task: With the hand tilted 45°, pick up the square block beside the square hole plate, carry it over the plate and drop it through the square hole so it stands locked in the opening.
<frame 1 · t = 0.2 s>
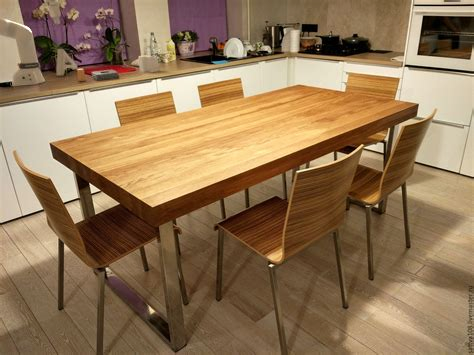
hand: (57, 23, 282), 39 cm above the table, tool pointing down, fingers open, 8 cm apart
corner bracket: (149, 71, 320), on the table
square hole plate: (105, 77, 299), on the table
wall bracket: (67, 72, 324), on the table
square block: (82, 80, 291), on the table
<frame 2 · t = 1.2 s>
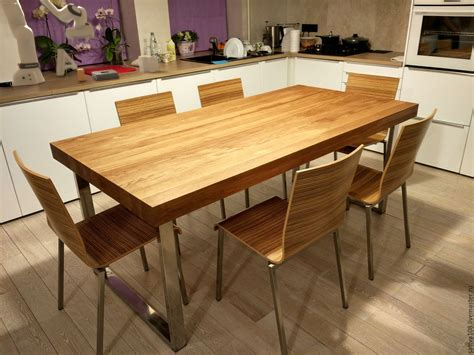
hand: (79, 42, 291), 26 cm above the table, tool tilted 45°, fingers open, 8 cm apart
nothing on the table moved.
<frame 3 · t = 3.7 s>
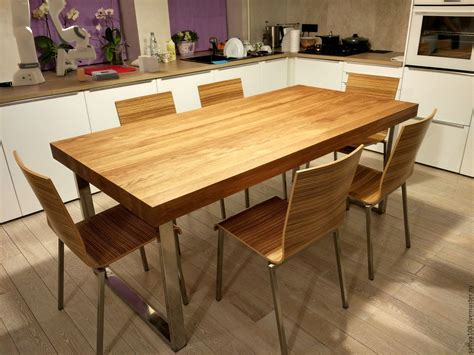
hand: (81, 64, 293), 10 cm above the table, tool tilted 45°, fingers open, 8 cm apart
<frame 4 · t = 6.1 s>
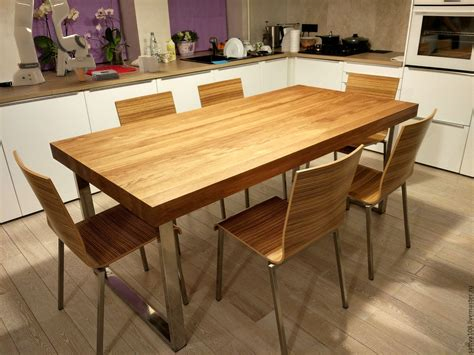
hand: (80, 74, 288), 5 cm above the table, tool tilted 45°, fingers closed on square block, 4 cm apart
square block: (82, 80, 291), on the table, touching gripper
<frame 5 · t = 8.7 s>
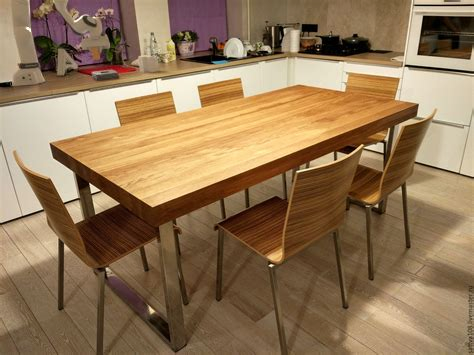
hand: (95, 53, 288), 18 cm above the table, tool tilted 45°, fingers closed on square block, 4 cm apart
square block: (97, 59, 291), point 14 cm above the table, touching gripper
when the fingers open (10 cm above the table, at t = 11.4 s): square block drops 5 cm, resting in square hole plate.
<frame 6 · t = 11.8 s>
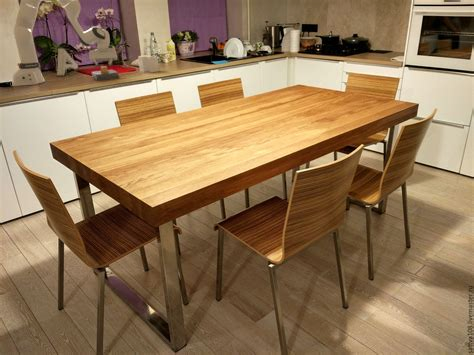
hand: (103, 64, 294), 10 cm above the table, tool tilted 45°, fingers open, 8 cm apart
square block: (105, 77, 299), resting in square hole plate
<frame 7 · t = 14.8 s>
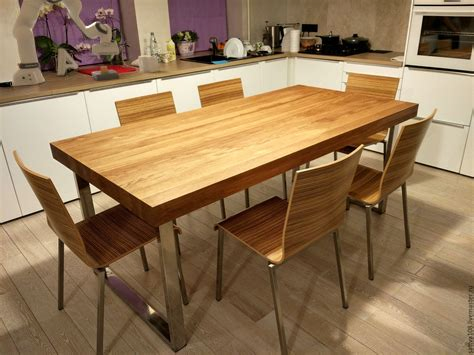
hand: (105, 58, 305), 12 cm above the table, tool tilted 45°, fingers open, 8 cm apart
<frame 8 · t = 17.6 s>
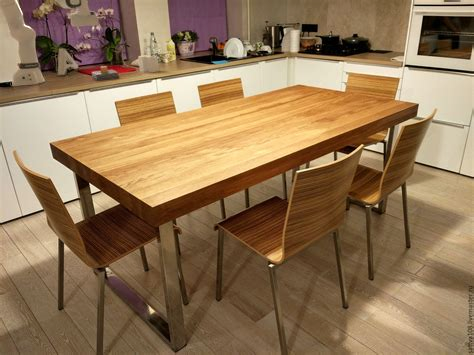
hand: (86, 32, 305), 31 cm above the table, tool pointing down, fingers open, 8 cm apart
at the end: square block 0.0 cm off-centre on the square hole plate, point 0.0 cm above the square hole plate's base; square block tilted 0°; the gripper is holding nothing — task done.
